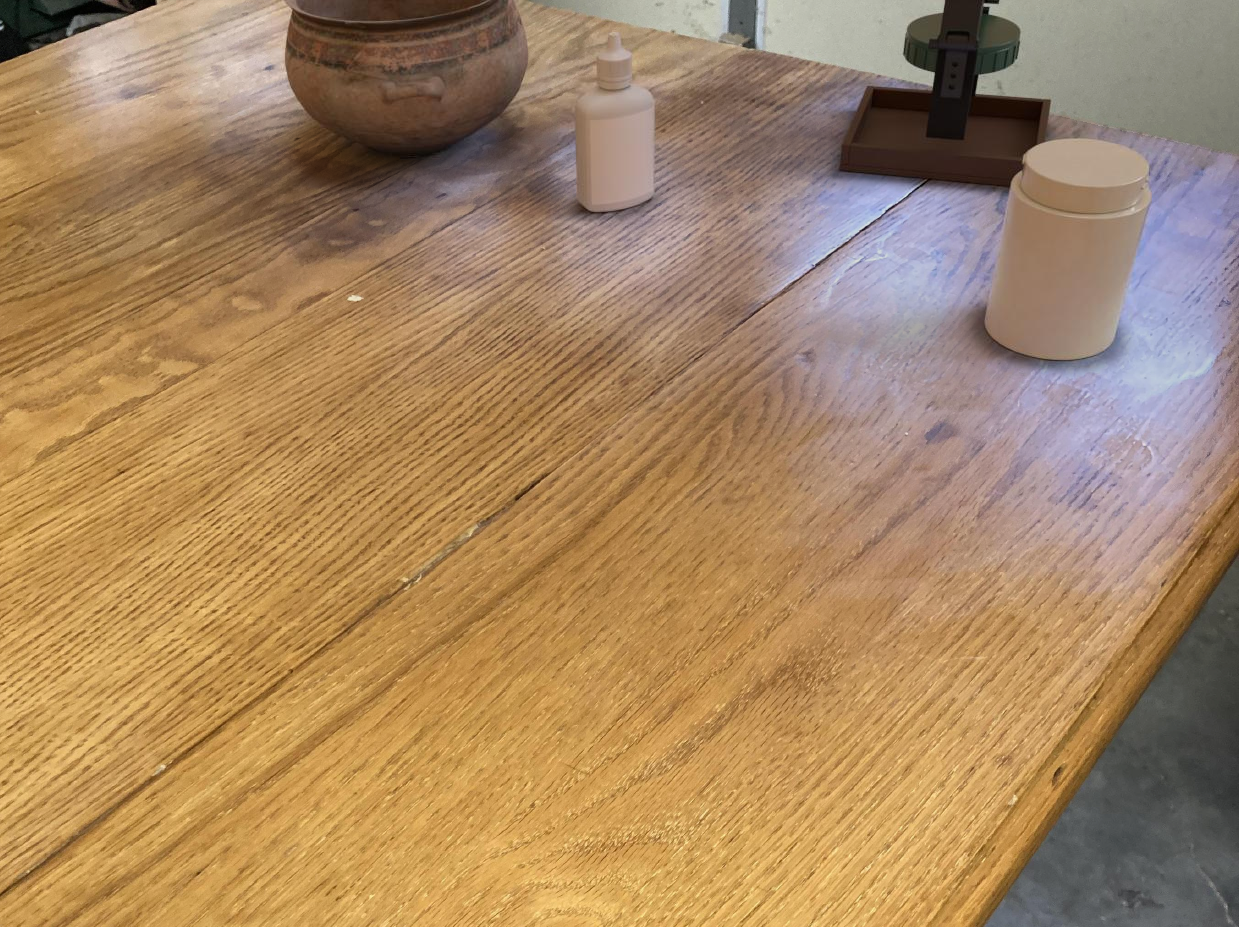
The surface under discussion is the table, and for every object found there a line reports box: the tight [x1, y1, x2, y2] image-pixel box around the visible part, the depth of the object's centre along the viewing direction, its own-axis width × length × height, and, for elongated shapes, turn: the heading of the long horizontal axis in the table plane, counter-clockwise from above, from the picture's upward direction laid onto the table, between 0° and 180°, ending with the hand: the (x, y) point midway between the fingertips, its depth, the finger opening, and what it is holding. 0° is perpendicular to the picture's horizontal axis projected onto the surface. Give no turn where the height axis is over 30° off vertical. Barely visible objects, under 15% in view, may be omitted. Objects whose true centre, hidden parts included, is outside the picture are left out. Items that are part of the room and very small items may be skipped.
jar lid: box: [902, 12, 1021, 76], centre depth 97 cm, size 8×8×2 cm
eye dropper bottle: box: [574, 31, 656, 213], centre depth 93 cm, size 4×6×12 cm
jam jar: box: [984, 137, 1153, 361], centre depth 77 cm, size 8×8×11 cm
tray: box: [839, 85, 1052, 187], centre depth 101 cm, size 14×12×2 cm
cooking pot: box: [283, 0, 529, 158], centre depth 103 cm, size 25×19×12 cm
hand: (951, 114), depth 100 cm, fingers closed on jar lid, 8 cm apart
